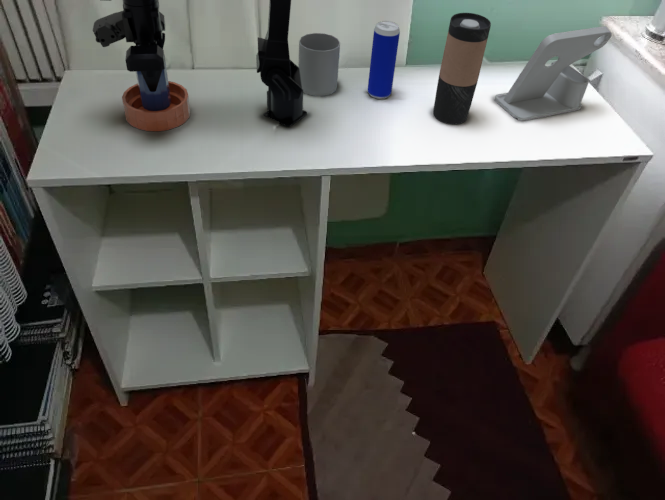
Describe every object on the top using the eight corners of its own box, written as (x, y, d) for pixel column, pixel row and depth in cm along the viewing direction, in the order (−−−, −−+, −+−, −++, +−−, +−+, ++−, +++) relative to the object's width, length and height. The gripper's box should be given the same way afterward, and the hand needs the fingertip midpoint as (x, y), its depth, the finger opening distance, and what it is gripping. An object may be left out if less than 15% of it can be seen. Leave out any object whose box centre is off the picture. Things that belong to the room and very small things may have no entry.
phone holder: (555, 86, 139) (583, 7, 126) (585, 109, 132) (617, 28, 120) (492, 98, 133) (513, 16, 121) (519, 122, 127) (545, 38, 114)
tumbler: (176, 102, 119) (170, 54, 112) (156, 114, 116) (148, 65, 109) (156, 93, 121) (149, 45, 114) (135, 104, 118) (126, 55, 111)
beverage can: (395, 92, 132) (405, 25, 122) (383, 102, 129) (392, 33, 119) (374, 85, 134) (382, 17, 124) (362, 94, 131) (369, 26, 121)
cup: (332, 98, 129) (335, 53, 122) (294, 92, 130) (295, 47, 123) (339, 79, 135) (343, 36, 128) (303, 74, 136) (304, 30, 129)
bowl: (203, 114, 122) (201, 93, 119) (158, 141, 114) (154, 120, 111) (159, 93, 126) (156, 73, 123) (112, 118, 119) (108, 97, 115)
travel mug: (472, 111, 129) (496, 18, 115) (462, 129, 123) (485, 33, 110) (438, 102, 131) (457, 8, 117) (426, 118, 125) (445, 23, 112)
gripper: (95, -21, 110) (111, 61, 120) (85, 24, 96) (104, 111, 107) (159, -21, 112) (170, 59, 122) (158, 23, 98) (170, 108, 109)
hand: (153, 83), depth 115 cm, fingers closed on tumbler, 5 cm apart
